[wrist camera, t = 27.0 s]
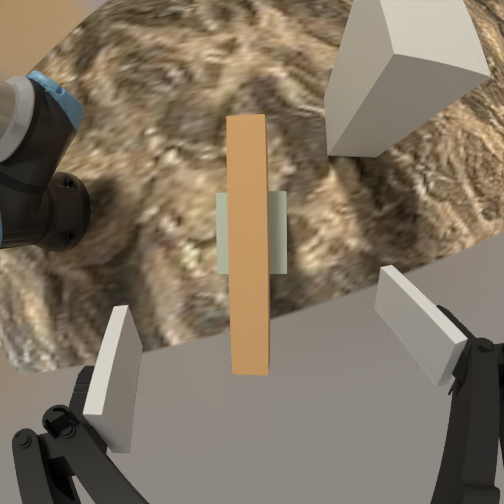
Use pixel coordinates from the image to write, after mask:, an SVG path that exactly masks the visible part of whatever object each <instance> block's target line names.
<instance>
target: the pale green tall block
mask: <svg viewBox="0 0 504 504" xmlns="http://www.w3.org/2000/svg"><path fill="white" fill-rule="evenodd" d="M268 197H269V263H270V274H287V214H286V191H274V192H268ZM216 232H217V273H218V274H229V262H228V215H227V193H216Z"/></svg>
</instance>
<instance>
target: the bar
mask: <svg viewBox="0 0 504 504" xmlns="http://www.w3.org/2000/svg"><path fill="white" fill-rule="evenodd" d="M227 215H228V262H229V298H230V327H231V352H232V373H233V374H241V375H268V373H269V364H270V263H269V197H268V152H267V124H266V118H265V114H256V115H237V116H227Z"/></svg>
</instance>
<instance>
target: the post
mask: <svg viewBox="0 0 504 504" xmlns="http://www.w3.org/2000/svg"><path fill="white" fill-rule="evenodd" d="M489 77H491V76H490V73H489V69H488V66H487V63H486V59H485V56H484V53H483V50H482V47H481V44H480V42H479V39H478V36H477V33H476V31H475V28H474V25H473V23H472V20H471V18H470V16H469V13H468V11H467V9H466V6H465V4H464V2H463V0H354V1H353V5H352V8H351V11H350V15H349V18H348V21H347V25H346V28H345V31H344V35H343V38H342V41H341V45H340V48H339V51H338V54H337V58H336V61H335V64H334V67H333V71H332V74H331V77H330V80H329V83H328V87H327V90H326V93H325V96H324V107H325V120H326V135H327V152H328V156H352V157H374V158H376V157H377V156H379V155H380V154H382V153H383V152H384V151H386V150H387V149H389V148H390V147H391V146H393V145H394V144H396V143H397V142H398V141H400V140H401V139H403V138H404V137H406V136H407V135H408V134H410V133H411V132H413V131H414V130H415V129H417V128H418V127H420V126H421V125H422V124H424V123H425V122H427V121H428V120H430V119H431V118H432V117H434V116H435V115H437V114H438V113H439V112H441V111H442V110H444V109H445V108H447V107H448V106H449V105H451V104H452V103H454V102H455V101H457V100H458V99H459V98H461V97H462V96H464V95H465V94H466V93H468V92H469V91H471V90H472V89H474V88H475V87H476V86H478V85H479V84H481V83H482V82H484V81H485V80H486V79H488V78H489Z"/></svg>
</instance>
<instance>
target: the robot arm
mask: <svg viewBox="0 0 504 504" xmlns="http://www.w3.org/2000/svg"><path fill="white" fill-rule="evenodd" d="M84 117H85V108H84V106H83V105H82V103H81V102H80V101H79V100H77V99H76V98H75V97H74V96H73V95H72V94H70V93H69V92H68V91H66V90H65V89H63V88H62V87H61V86H59V85H58V84H57V83H56V82H54V81H53V80H52V79H50V78H49V77H47V76H45V75H44V74H42V73H40V72H38V71H33V72H31V74H30V75H28V76H27V78H25V77H22V76H16V77H13V78H10V79H9V80H7V81H5V82H4V81H2V80H0V249H5V248H12V247H20V246H27V245H36V246H38V247H41V248H43V249H46V250H49V251H54V252H58V251H65V250H68V249H71V248H72V247H74V246H75V245H76V244H77V243H78V242H79V241H80V240H81V238H82V237H83V235H84V233H85V231H86V228H87V225H88V222H89V216H90V203H89V197H88V193H87V190H86V188H85V186H84V184H83V183H82V182H81V180H80V179H79V178H77V177H76V176H74V175H72V174H69V173H64V172H55V170H56V168H57V166H58V164H59V163H60V161H61V159H62V157H63V155H64V154H65V152H66V150H67V148H68V147H69V145H70V143H71V142H72V140H73V138H74V137H75V136H76V134H77V131H78V128H79V127H80V125H81V123H82V121H83V119H84ZM374 309H375V311H376V312H377V313H378V314H379V316H380V317H381V318H382V319H383V320H384V322H385V323H386V324H387V326H388V327H389V328H390V329H391V330H392V332H393V333H394V334H395V336H396V337H397V338H398V340H399V341H400V342H401V343H402V345H403V346H404V347H405V349H406V350H407V351H408V352H409V354H410V355H411V356H412V358H413V359H414V360H415V362H416V363H417V364H418V366H419V367H420V368H421V370H422V371H423V372H424V374H425V375H426V376H427V378H428V379H429V380H430V382H431V383H432V385H433V386H434V387H435V388H438V387H440V386H443V385H445V384H447V383H448V381H449V379H450V377H451V375H453V376H454V377H455V378H456V379H455V381H454V383H453V385H452V387H451V389H450V391H449V393H448V395H450V394H451V392H452V391H453V393H452V402H451V411H450V417H449V424H448V431H447V436H446V442H445V447H444V452H443V457H442V461H441V466H440V470H439V474H438V478H437V482H436V486H435V490H434V493H433V497H432V500H431V503H430V504H499V500H500V490H499V488H497V487H495V485H494V481H495V473H496V465H497V454H498V439H500V445H501V451H502V459H503V465H504V343H501V344H493V342H491V341H490V340H488V339H486V338H476V337H474V335H473V334H472V333H471V332H470V331H468V329H467V328H466V327H465V326H464V325H463V324H462V323H461V322H459V321H458V319H456V317H454V315H453V314H451V312H450V311H448V310H447V309H445V308H444V307H442V306H440V305H437V306H435V305H434V304H433V303H432V302H431V301H430V300H429V299H428V298H427V297H426V296H425V295H424V294H423V293H421V292H420V291H419V290H418V289H417V288H416V287H415V286H414V285H413V284H412V283H411V282H410V281H409V280H408V279H407V278H405V277H404V276H403V275H402V274H401V273H400V272H399V271H398V270H397V269H396V268H395V267H393V266H392V265H390V266H385V267H380V274H379V281H378V288H377V295H376V301H375V307H374ZM142 348H143V346H142V343H141V341H140V338H139V335H138V332H137V329H136V327H135V324H134V321H133V318H132V315H131V312H130V309H129V306H128V305H123V306H114V308H113V311H112V314H111V317H110V320H109V323H108V326H107V329H106V332H105V335H104V339H103V342H102V345H101V348H100V351H99V355H98V358H97V362H96V365H95V366H85V367H84V368H83V369H82V370H81V372H80V373H79V374H78V377H77V381H76V385H75V387H74V390H73V391H74V393H73V394H72V398H71V401H70V404H69V408H68V407H67V406H65V405H55V406H53V407H51V408H49V409H48V410H47V411H46V412H45V414H44V415H43V419H42V423H43V427H44V428H45V429H46V430H47V431H48V433H45V434H40V435H37V434H36V433H35V432H34V431H33V430H31V429H28V428H27V429H22V430H20V431H18V432H17V433H16V434H15V435H14V437H13V440H12V449H13V457H14V463H15V469H16V475H17V480H18V486H19V490H20V495H21V499H22V503H23V504H81V502H80V499H79V496H78V494H77V491H76V488H75V485H74V482H73V479H72V476H75V475H76V476H77V478H78V479H79V481H80V482H81V484H82V485H83V487H84V488H85V490H86V491H87V492H88V494H89V495H90V497H91V498H92V499H93V501H94V502H95V504H149V503H148V502H147V501H146V500H145V499H144V498H143V497H142V496H141V494H140V493H139V492H138V491H137V490H136V489H135V488H134V487H133V486H132V485H131V483H130V482H129V481H128V480H127V479H126V478H125V477H124V475H123V474H122V473H121V472H120V471H119V469H118V468H117V467H116V466H115V465H114V463H113V462H112V461H111V459H110V458H109V457H108V456H107V455H106V451H107V446H108V448H110V450H111V451H112V452H113V453H130V446H131V435H132V424H133V415H134V405H135V397H136V390H137V382H138V375H139V368H140V361H141V354H142Z"/></svg>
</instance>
